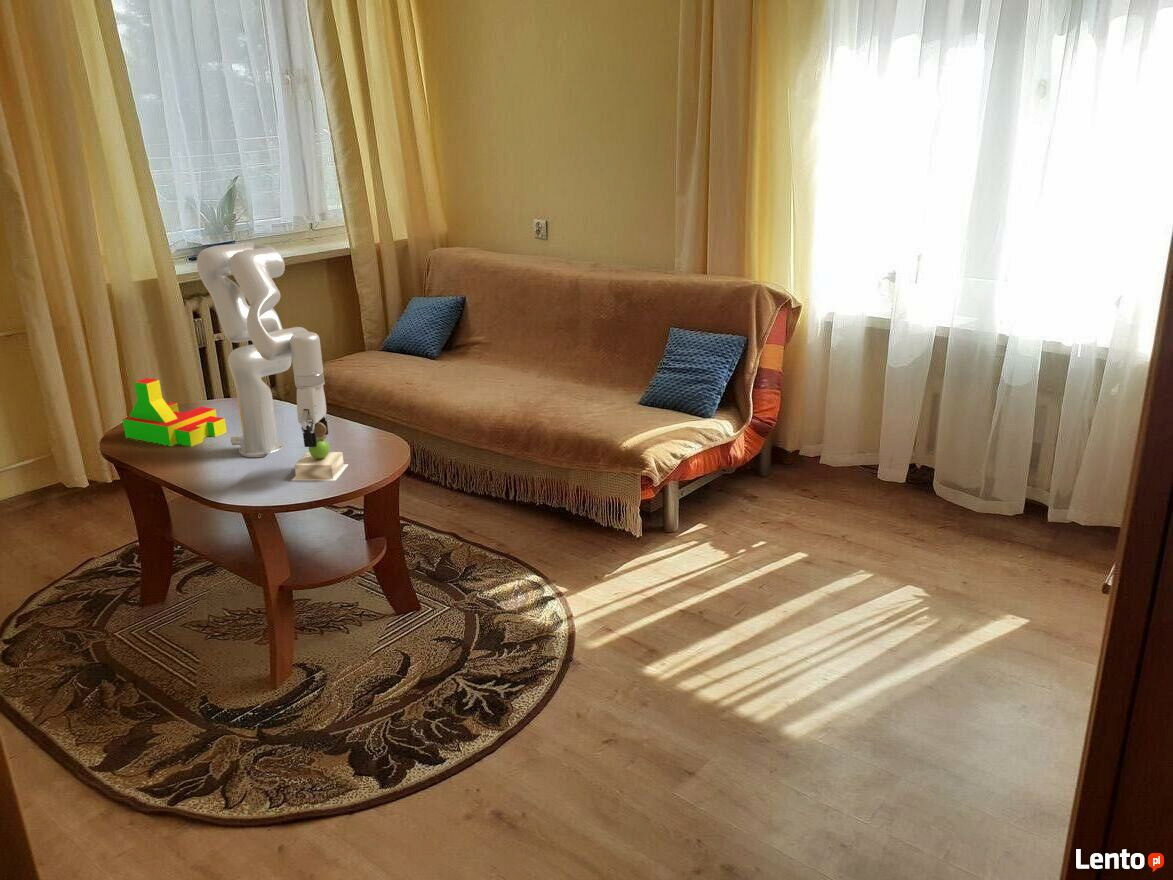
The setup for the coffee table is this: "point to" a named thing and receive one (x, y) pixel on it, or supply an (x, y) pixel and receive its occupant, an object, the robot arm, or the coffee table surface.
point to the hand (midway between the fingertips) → (316, 440)
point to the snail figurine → (320, 442)
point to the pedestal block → (319, 466)
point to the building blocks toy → (169, 419)
